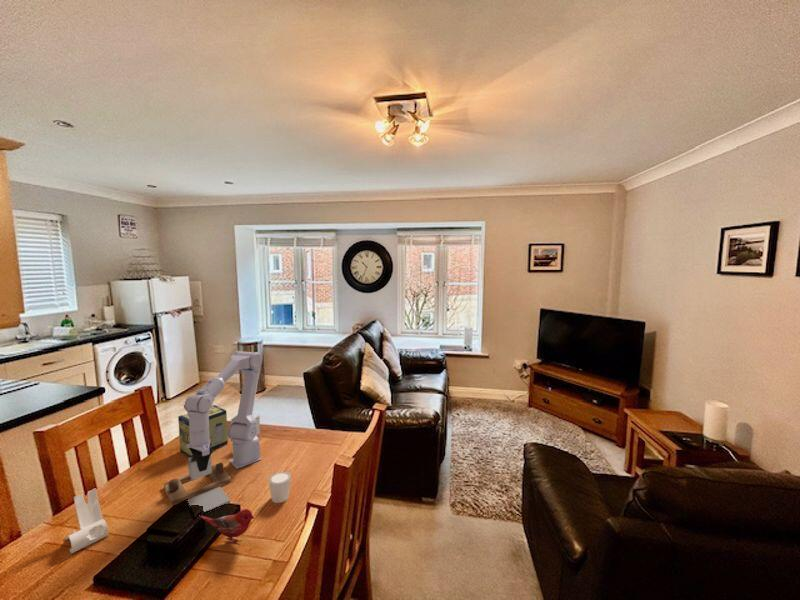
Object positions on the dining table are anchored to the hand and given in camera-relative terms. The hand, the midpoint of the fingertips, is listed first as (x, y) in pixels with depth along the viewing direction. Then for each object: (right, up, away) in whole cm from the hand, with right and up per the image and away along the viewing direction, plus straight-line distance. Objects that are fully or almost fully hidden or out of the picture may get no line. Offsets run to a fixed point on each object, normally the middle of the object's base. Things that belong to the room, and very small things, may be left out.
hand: (201, 467), depth 114 cm
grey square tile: (+5, -9, -4) cm, 12 cm away
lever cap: (0, -2, 0) cm, 2 cm away
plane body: (-4, -9, +5) cm, 11 cm away
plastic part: (-21, -11, -19) cm, 31 cm away
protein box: (-17, -7, +30) cm, 35 cm away
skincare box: (+3, -7, +34) cm, 35 cm away
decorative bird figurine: (+19, -11, -20) cm, 30 cm away
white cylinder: (+28, -9, -2) cm, 29 cm away
